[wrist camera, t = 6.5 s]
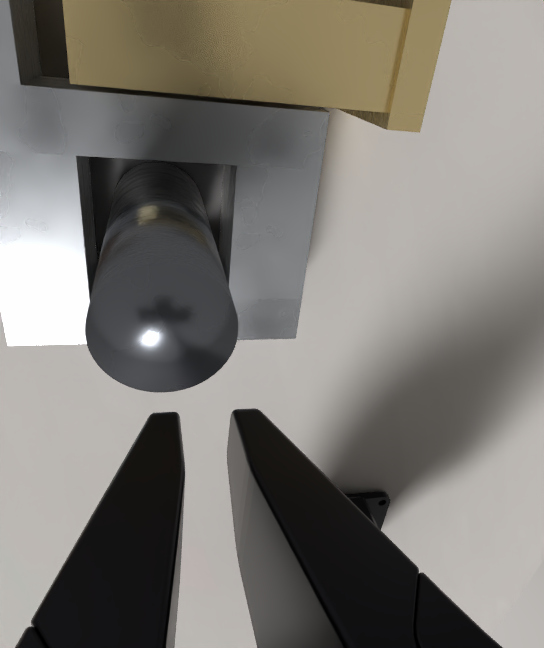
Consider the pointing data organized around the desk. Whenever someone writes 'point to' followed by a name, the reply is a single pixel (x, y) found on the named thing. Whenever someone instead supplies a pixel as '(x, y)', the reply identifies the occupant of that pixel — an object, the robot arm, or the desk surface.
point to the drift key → (265, 51)
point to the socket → (145, 144)
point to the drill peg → (160, 286)
